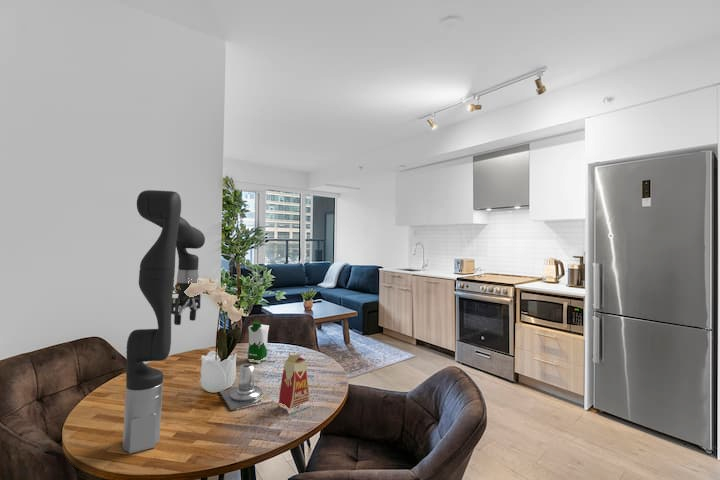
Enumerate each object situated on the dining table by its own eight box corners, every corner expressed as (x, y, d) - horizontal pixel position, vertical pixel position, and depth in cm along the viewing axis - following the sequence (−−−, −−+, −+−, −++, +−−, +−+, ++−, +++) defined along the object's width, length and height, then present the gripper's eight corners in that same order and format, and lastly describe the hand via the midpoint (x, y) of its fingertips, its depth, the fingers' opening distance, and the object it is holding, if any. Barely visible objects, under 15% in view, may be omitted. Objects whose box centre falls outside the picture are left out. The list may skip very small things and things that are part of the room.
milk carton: (310, 406, 127) (313, 353, 127) (289, 414, 120) (292, 357, 121) (297, 398, 133) (299, 347, 134) (276, 405, 127) (278, 351, 127)
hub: (256, 393, 132) (258, 366, 132) (239, 396, 128) (241, 369, 128) (251, 387, 137) (252, 362, 137) (234, 390, 133) (236, 364, 134)
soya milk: (244, 362, 171) (246, 322, 172) (255, 357, 180) (257, 319, 180) (259, 364, 169) (261, 324, 169) (269, 359, 177) (271, 321, 178)
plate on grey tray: (273, 401, 130) (274, 396, 130) (230, 411, 121) (230, 405, 121) (258, 384, 144) (259, 380, 144) (219, 392, 135) (219, 387, 135)
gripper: (183, 283, 126) (181, 327, 125) (207, 280, 140) (205, 319, 139) (165, 282, 127) (163, 325, 126) (191, 279, 141) (188, 318, 140)
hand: (185, 322), depth 133 cm, fingers open, 8 cm apart
